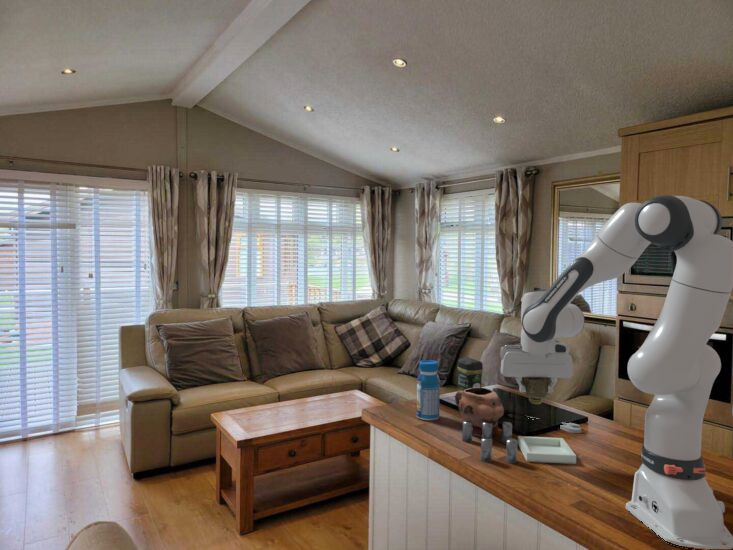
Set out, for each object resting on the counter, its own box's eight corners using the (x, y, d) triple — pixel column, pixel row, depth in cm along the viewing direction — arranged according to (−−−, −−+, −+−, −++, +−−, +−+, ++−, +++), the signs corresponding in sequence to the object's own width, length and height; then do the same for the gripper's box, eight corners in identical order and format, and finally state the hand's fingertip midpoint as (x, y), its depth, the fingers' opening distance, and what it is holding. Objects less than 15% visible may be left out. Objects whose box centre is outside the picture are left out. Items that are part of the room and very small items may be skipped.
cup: (551, 407, 142) (551, 379, 142) (524, 405, 144) (524, 378, 144) (546, 400, 150) (546, 373, 149) (521, 398, 151) (521, 372, 151)
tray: (576, 464, 140) (576, 455, 140) (526, 461, 142) (527, 453, 142) (562, 445, 154) (562, 438, 153) (517, 443, 155) (517, 435, 155)
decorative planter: (441, 427, 169) (442, 386, 168) (464, 419, 177) (465, 380, 176) (491, 444, 154) (492, 400, 153) (514, 435, 162) (515, 393, 161)
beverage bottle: (429, 422, 173) (430, 365, 172) (411, 416, 179) (411, 361, 178) (444, 417, 179) (445, 362, 178) (426, 411, 185) (427, 358, 184)
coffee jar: (453, 404, 195) (454, 356, 194) (469, 401, 198) (470, 355, 197) (468, 411, 186) (469, 361, 185) (485, 408, 190) (486, 360, 189)
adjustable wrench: (506, 418, 180) (506, 413, 180) (513, 414, 185) (514, 409, 185) (578, 435, 164) (578, 429, 164) (584, 430, 169) (584, 425, 168)
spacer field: (521, 463, 140) (522, 442, 140) (467, 460, 142) (467, 440, 141) (510, 441, 157) (511, 422, 157) (462, 438, 159) (462, 420, 158)
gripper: (502, 346, 144) (501, 394, 144) (575, 347, 142) (575, 395, 142) (498, 342, 150) (498, 388, 151) (568, 343, 148) (568, 390, 149)
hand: (536, 392), depth 147 cm, fingers closed on cup, 6 cm apart
